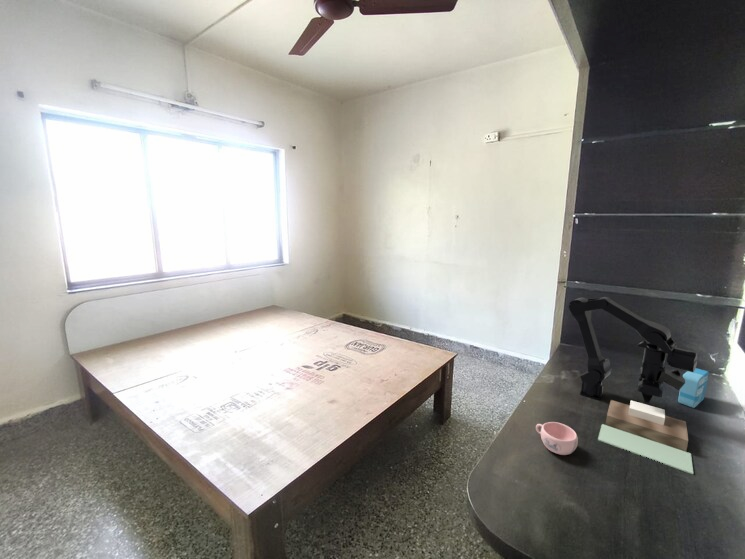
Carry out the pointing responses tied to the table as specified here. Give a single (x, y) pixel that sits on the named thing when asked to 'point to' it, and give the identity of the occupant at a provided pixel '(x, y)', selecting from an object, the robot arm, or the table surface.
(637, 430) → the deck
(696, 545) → the table surface
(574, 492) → the table surface
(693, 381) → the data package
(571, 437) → the mug
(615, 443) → the mat
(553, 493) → the table surface
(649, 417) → the tile
